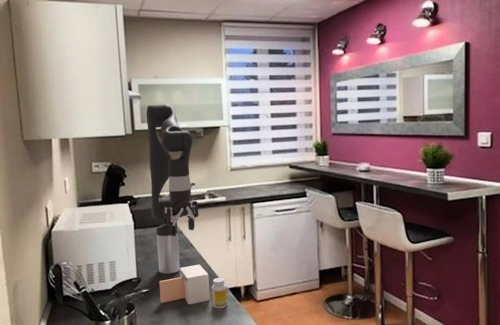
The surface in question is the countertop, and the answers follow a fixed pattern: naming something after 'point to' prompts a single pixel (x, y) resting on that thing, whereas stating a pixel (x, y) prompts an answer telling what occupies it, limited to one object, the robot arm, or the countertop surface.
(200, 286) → the white rectangular block
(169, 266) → the robot arm
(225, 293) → the supplement bottle
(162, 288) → the ticket
